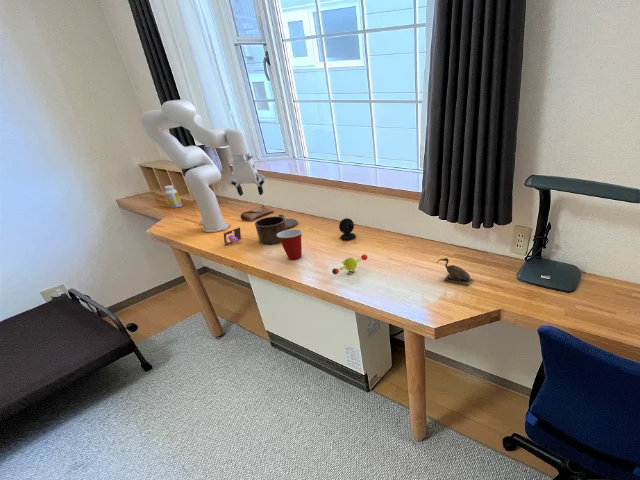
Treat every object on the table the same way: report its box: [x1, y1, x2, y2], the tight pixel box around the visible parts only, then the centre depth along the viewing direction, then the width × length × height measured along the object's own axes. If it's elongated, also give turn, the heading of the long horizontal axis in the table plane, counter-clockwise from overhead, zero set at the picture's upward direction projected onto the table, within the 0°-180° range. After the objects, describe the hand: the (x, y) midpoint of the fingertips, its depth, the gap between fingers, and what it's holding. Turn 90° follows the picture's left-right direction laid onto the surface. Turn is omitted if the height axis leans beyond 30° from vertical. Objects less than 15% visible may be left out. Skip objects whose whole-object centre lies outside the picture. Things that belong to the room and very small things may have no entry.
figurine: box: [436, 257, 473, 287], centre depth 139 cm, size 14×4×9 cm, turn 65°
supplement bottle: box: [164, 184, 183, 209], centre depth 228 cm, size 7×7×13 cm
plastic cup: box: [276, 228, 303, 261], centre depth 159 cm, size 11×11×12 cm
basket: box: [254, 215, 288, 246], centre depth 178 cm, size 14×14×10 cm
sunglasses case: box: [240, 204, 275, 222], centre depth 210 cm, size 18×7×7 cm
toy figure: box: [331, 253, 368, 275], centre depth 146 cm, size 18×6×7 cm, turn 141°
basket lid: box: [277, 212, 299, 229], centre depth 195 cm, size 15×15×7 cm
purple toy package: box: [223, 227, 242, 246], centre depth 177 cm, size 7×5×9 cm
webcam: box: [338, 217, 357, 241], centre depth 177 cm, size 8×8×10 cm
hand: (251, 194), depth 177 cm, fingers open, 9 cm apart
